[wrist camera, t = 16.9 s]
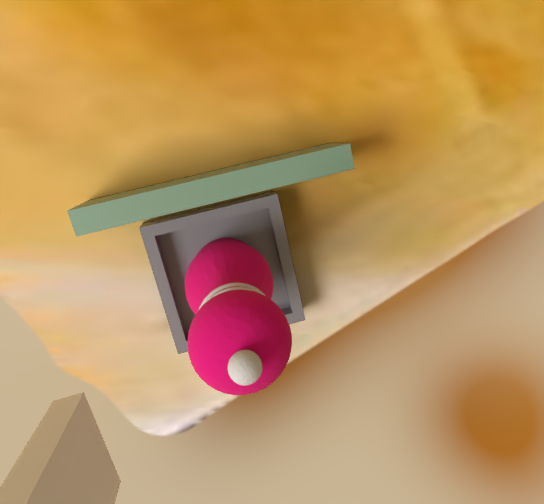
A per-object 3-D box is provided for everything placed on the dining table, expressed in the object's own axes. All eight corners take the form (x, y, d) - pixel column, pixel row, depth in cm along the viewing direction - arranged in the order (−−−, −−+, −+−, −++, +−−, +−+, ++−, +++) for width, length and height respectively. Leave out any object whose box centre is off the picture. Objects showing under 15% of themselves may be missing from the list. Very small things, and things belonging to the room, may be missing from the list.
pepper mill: (209, 217, 41) (215, 280, 21) (279, 254, 42) (344, 343, 23) (172, 287, 41) (145, 409, 22) (242, 320, 43) (274, 460, 24)
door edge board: (330, 142, 41) (350, 143, 36) (334, 164, 42) (354, 168, 36) (87, 200, 40) (67, 210, 34) (94, 222, 40) (76, 236, 34)
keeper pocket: (273, 190, 42) (277, 193, 39) (300, 310, 45) (305, 319, 42) (143, 222, 41) (139, 227, 38) (179, 342, 44) (178, 354, 41)
